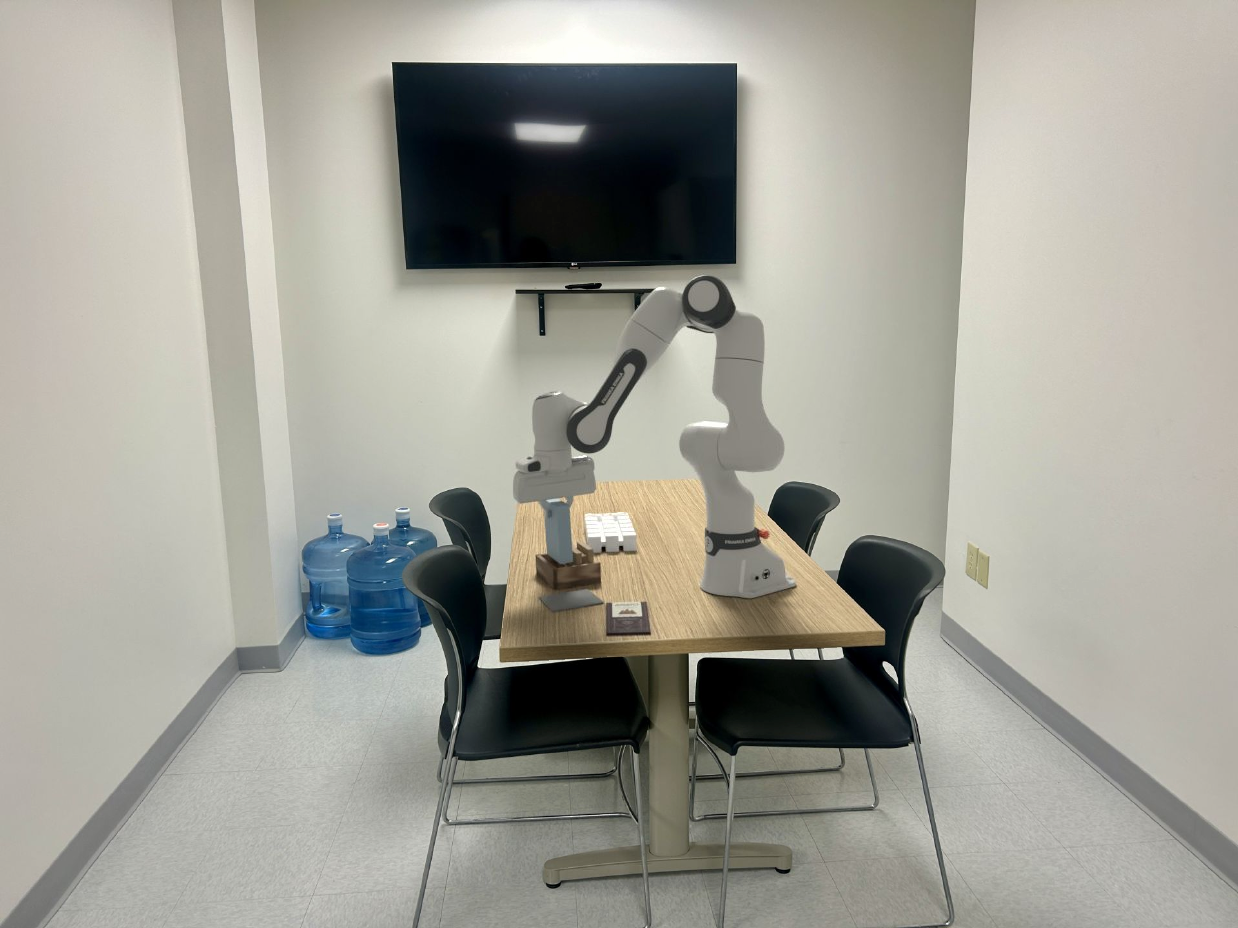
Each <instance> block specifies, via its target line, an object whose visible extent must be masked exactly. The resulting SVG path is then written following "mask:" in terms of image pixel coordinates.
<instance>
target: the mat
mask: <svg viewBox="0 0 1238 928" xmlns="http://www.w3.org/2000/svg"><path fill="white" fill-rule="evenodd" d="M538 599H539V600H540V601H541V602H542V603H543V604H544V605H545V606H546V607H547V608H548V609H549V610H550V611H551V612H552V613H554V612H555V613H556V612H562V611H567V610H572V609H579V608H585V607H591V606H596V605H602V604H604V603H605V602H604V601H603V600H602V599H600V597H598V596H597V595H596V594H595V593H593V591H591V590H590V589H589V588H585V589H579V590H571V591H566V592H561V593H560V592H559V593H555V594H548V595H542V596H538Z"/></svg>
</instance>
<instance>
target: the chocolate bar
mask: <svg viewBox="0 0 1238 928" xmlns="http://www.w3.org/2000/svg"><path fill="white" fill-rule="evenodd" d="M649 617H650V616H649V609H648V602H647V601H621V602H620V601H619V602H616V601H614V602H605V635H606V636H607V637H611V636H637V635H639V636H641V635H642V636H644V635H651V634H652V633H651V632H652V631H651V624H650V618H649Z"/></svg>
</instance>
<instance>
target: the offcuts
mask: <svg viewBox="0 0 1238 928" xmlns="http://www.w3.org/2000/svg"><path fill="white" fill-rule="evenodd" d="M572 553H573V562H570V563H565V564H566V565H567V566H575V565H581V564H588V563H594V562H595V557H594V554H595V553H594V552H593V548H591V547H590V546H588V544H587V543H586V542H585V541H582V540H581V541H576V546H575V545H572Z"/></svg>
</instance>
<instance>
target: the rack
mask: <svg viewBox="0 0 1238 928" xmlns="http://www.w3.org/2000/svg"><path fill="white" fill-rule="evenodd" d="M601 564H602V563H601V562H600V561H597V562H595V561H594V563H588V564H581V565H575V566H567V565H566V564H560V563H558V562H557V561H556V560H554V559H553V558H552V557H550V556H549V555H548V554H547V552H546V553H538V554H535V571H536V575H537V576H538V577H539V578H540V579H541V580H542V581H544V582H545V584H547V585H548V586H549V587H550V588H552V589H553V591H555V590H563V589H568V588H569V589H570V588H575V587H583V586H589V585H594V584H601V583H602V565H601Z"/></svg>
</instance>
